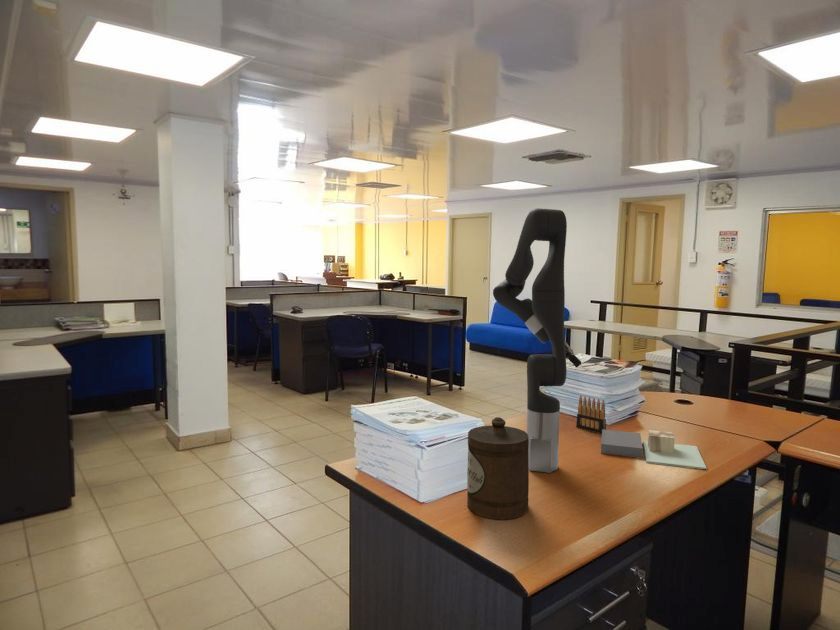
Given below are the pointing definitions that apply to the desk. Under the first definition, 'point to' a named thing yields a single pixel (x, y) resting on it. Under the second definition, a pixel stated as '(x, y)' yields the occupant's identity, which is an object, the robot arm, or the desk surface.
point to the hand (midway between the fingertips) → (579, 365)
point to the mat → (676, 456)
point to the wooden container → (498, 471)
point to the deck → (621, 443)
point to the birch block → (661, 441)
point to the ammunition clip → (591, 415)
